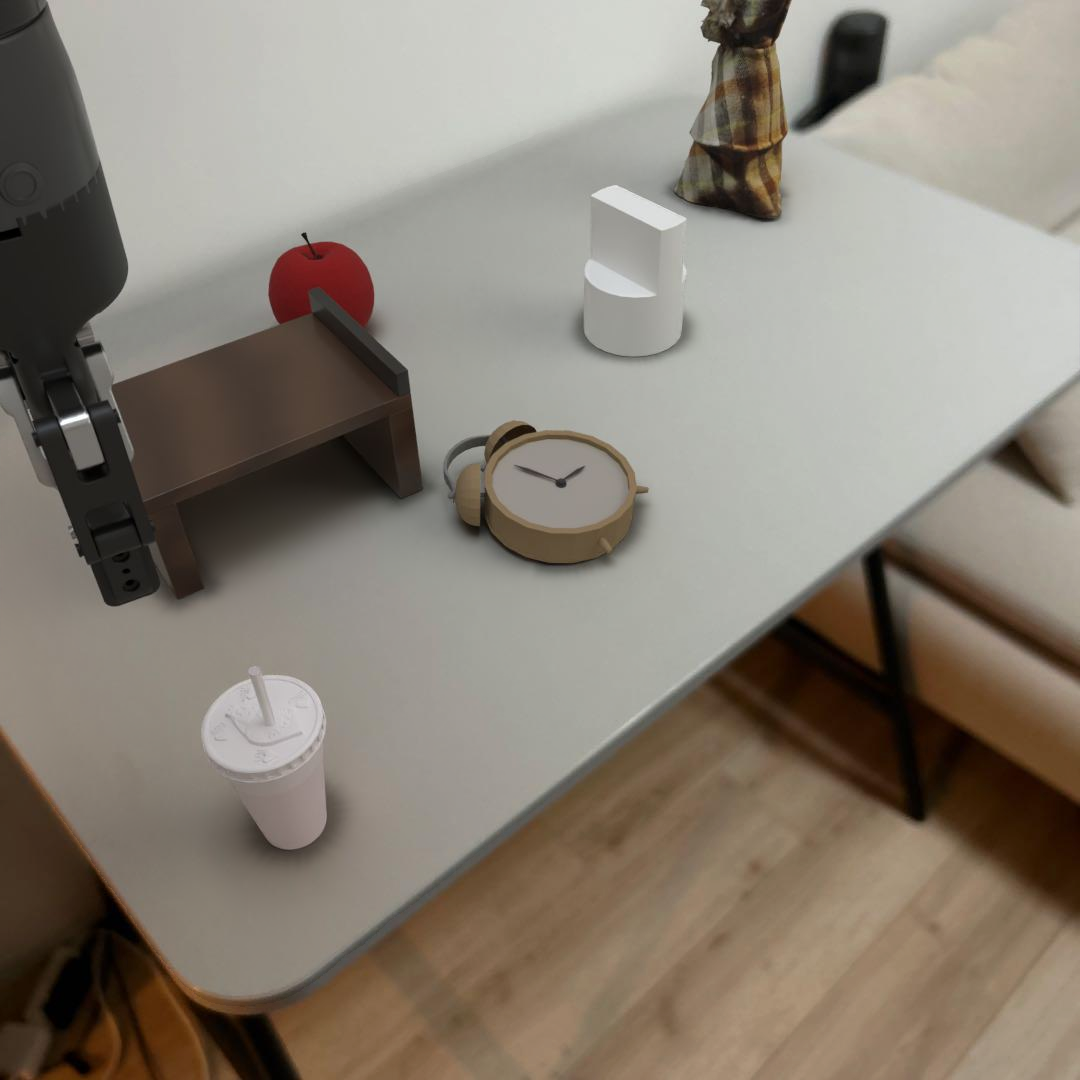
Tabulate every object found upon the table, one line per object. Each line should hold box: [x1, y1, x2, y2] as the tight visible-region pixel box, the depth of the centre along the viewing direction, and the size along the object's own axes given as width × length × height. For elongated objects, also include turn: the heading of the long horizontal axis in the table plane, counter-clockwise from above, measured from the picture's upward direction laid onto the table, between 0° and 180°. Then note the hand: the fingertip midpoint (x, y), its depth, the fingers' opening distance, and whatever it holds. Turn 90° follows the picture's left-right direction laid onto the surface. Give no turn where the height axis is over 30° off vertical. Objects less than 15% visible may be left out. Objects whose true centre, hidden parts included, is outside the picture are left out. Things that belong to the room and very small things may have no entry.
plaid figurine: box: [673, 0, 792, 219], centre depth 111 cm, size 14×14×25 cm
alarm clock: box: [442, 420, 649, 564], centre depth 81 cm, size 11×5×15 cm
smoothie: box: [200, 665, 328, 851], centre depth 58 cm, size 6×6×14 cm
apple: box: [267, 231, 375, 329], centre depth 97 cm, size 9×9×10 cm
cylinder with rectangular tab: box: [583, 184, 688, 358], centre depth 96 cm, size 9×9×12 cm
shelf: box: [97, 287, 424, 600], centre depth 80 cm, size 20×14×11 cm
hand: (106, 530), depth 46 cm, fingers open, 8 cm apart
